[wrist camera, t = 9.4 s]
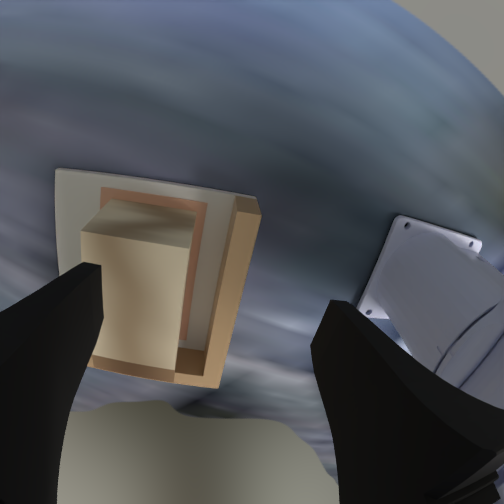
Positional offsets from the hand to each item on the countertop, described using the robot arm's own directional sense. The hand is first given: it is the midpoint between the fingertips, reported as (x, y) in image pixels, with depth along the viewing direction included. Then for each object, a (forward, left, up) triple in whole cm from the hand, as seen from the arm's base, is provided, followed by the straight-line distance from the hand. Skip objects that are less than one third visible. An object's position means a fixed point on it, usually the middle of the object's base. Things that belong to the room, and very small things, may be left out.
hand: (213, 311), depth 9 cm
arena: (+4, +6, -9) cm, 12 cm away
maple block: (+4, +5, -9) cm, 11 cm away
